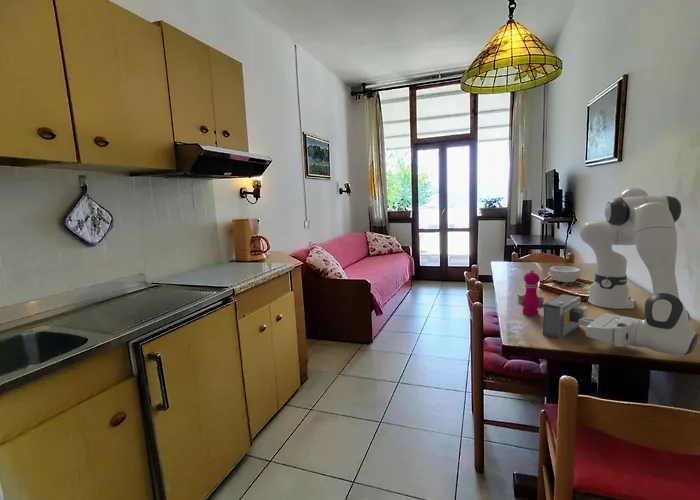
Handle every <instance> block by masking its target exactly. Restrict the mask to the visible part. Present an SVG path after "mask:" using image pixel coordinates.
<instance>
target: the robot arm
mask: <svg viewBox="0 0 700 500" xmlns="http://www.w3.org/2000/svg"><path fill="white" fill-rule="evenodd" d="M681 214H682V204H681V201H680V200H679V199H678V198H677V197H675V196H669V195H661V196H660V195H649V194H648V193H647V191H646V190H644V189H642V188H638V187H632V188H628V189H625V190H624V191H622V192H621V193H620V194H619V195H618V196H617V197H616V198H611V199H610V200H609V201H608V202H607V203H606V206H605V209H604V216H605V220H592V221H587V222H585V223H584V224H582V226H581V227H580V230H579V236H580V239H581V240H582V242H584V243H585V244H586V245H588V246H589V247H590V248H591V250H592V251H593V253H594V255H595V261H596V265H595V267H596V269H595V270H596V271H595V274H594V277H593V278H594V282H592V283H591V284H590V287H589V295H588V297H589V299H588V301H587V303H590V304H591V305H593V306H597V307H601V308H606V309H614V310H615V309H618V310H619V309H621V310H622V309H624V310H625V309H633V310H634V309H635V299H634V298H632V296H630V288H629V286H628V275H627V266H628V260H627V258H626V256H624V255H623V254H621V253H619V252H617V251H614V250H613V246H635V248H636V250H637V253H638V255H639V257H640V259H641V261H642V262H643V264H644V265H645V267H646V268H647V270H648V272H649V275H650V279H651V285H652V293H653V294H652V295H650V296H649V297H648V298H647V299H646V300H645V303H644V306H643V309H644V317H645V319H640V318H634V317H631V316H630V317H628V316H622V315H618V314H614V313H610V312H609V313H606V312H605V313H603V314H601V315H599V316H598V317H597V318H588V317H586V318H581V319H579V321H578V323H579V326H580V325H581V326H584V327H585V336H586V337H587V338H589V339H593V340H595V341H600V342H603V343H607V344H612V345H613V346H615V347H618V348H623V347H627V346H631V347H632V346H633V347H637V348H646V349H650V350H652V351H654V352H658V353H662V354H663V353H664V354H668V355H672V356H673V355H674V356H680V357H681V356H687V355H689V354H691V353H693V350H695V347H696V345H697V343H698V342H697V341H698V337H699V335H698V333H697V331H696V330H695V328H694V327H693V325H692V323H691V315H690V313H689V311H688V310H687V308H686V306H685V305H684V303H683V302H682V301H681V299H680V297H679V295H680V294H679V289H678V285H677V278H676V261H677V250H678V233H677V228H676V222H677V221H678V220H679V218H680V217H681Z"/></svg>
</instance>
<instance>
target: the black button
mask: <svg viewBox="0 0 700 500" xmlns="http://www.w3.org/2000/svg"><path fill="white" fill-rule="evenodd" d="M582 314H583V310H578V309H573V308H572V309H571V310H570V317H569V321H571V322H576V323H578V321H579V319H581V318H582Z"/></svg>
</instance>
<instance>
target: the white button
mask: <svg viewBox="0 0 700 500" xmlns="http://www.w3.org/2000/svg"><path fill="white" fill-rule="evenodd" d="M588 308H589V307H588V306H584V305H580V306H579V305H577V306H576V307H575V309H578V310H583V314H582V318H588Z"/></svg>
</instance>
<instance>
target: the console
mask: <svg viewBox="0 0 700 500" xmlns="http://www.w3.org/2000/svg"><path fill="white" fill-rule="evenodd" d="M581 300H582V298H581V296H578V295H577V296H576V295H570V294H564V293H562V294H560V295H558V296H557V297H554V298H552V299H551V300H549V301H547V302H545V303H543V304H544V305H543V322H542V335H543V336H548V337H551V338H556V339H558V340H563V339H564V338H566V337H567V336H568V335H570V334H571V333H573V332H574V331H575V330H576V329H577V328H579V327H580V324H579V323H576V322H571V321H569V323H568V324H567V325H564V314H565V313H566V312H570V310H571V309H572V308H573V309H575V307H576V306H577V305H579V306H581ZM569 317H570V316H569Z"/></svg>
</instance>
